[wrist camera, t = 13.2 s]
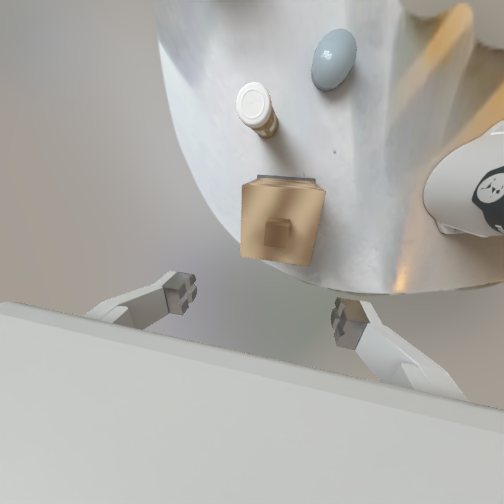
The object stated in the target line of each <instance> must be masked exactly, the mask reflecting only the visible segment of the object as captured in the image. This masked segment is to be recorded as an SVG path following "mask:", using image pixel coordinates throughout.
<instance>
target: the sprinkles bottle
mask: <svg viewBox="0 0 504 504" xmlns="http://www.w3.org/2000/svg"><path fill="white" fill-rule="evenodd" d="M236 109H237V113H238V116H239V118H240V119H241V121H242V122H243V123H244V124H245V125H246V126H248V127H250V128H251V129H252V130H254V131H255V132H256V133H257V134H258V135H259V136H260V137H263V138H268V137H271V136H272V135H273V134H274V133H275V131H276V130H277V126H278V119H277V116H276V115H275V112H274V110H273V107H272V102H271V98H270V95H269V93H268V91H267V89H266V88H265V87H264V86H263V85H262V84H260V83H258V82H251V83H248V84H246V85H245V86H244V87H243V88H242V89H241V90H240V92H239V94H238V97H237V101H236Z"/></svg>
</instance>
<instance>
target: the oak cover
mask: <svg viewBox="0 0 504 504" xmlns="http://www.w3.org/2000/svg"><path fill="white" fill-rule="evenodd" d="M325 195H326V191H324V190H323V189H322V188H321V187H320V186H318V185H317V184H316V183H315V182H313V181H302V180H288V179H273V178H258V179H256V180H253V181H251V182H249V183H246V184H244V185H242V211H241V254H240V256H241V257H248V258H255V259H262V260H270V261H277V262H284V263H291V264H298V265H305V266H310V261H311V257H312V252H313V248H314V244H315V239H316V235H317V230H318V226H319V221H320V217H321V212H322V208H323V203H324V199H325Z"/></svg>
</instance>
